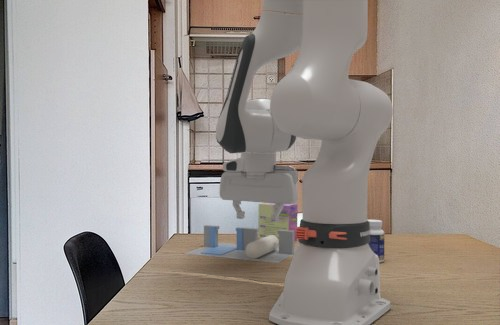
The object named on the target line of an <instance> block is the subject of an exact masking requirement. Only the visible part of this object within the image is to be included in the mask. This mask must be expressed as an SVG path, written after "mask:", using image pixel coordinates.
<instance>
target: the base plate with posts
mask: <svg viewBox="0 0 500 325" xmlns="http://www.w3.org/2000/svg"><path fill="white" fill-rule="evenodd" d="M219 229H220V225H212V224H205V225H203V246H201V247H198V248H195V249H192V250H189V251H186V252H183V255H192V256H193V255H194V256H204V257H215V258H223V259H234V260H242V261H243V260H245V261H254V262H264V263H273V264H274V263H275V264H278V263H280V262H282V261H283V260H284V261H285V259H288V258H289V257H291V256H294V254H295V250H296V249H297V248H295V242H294V231H289V230H278V231H277V234H279V246H278V248H277V249H275V250H273V251H271V252H269V253H267V254H265V255H263V256H260V257H258V258H256V259H251V258H249V257H248V256H247V254H246V246H247V245H248V244H249V243H251V242H254V241H256V240H258V232H259V228H256V227H244V226H243V227H241V226H240V227H239V226H238V227H235V231H236V242H235V243H233V242H220V241H219Z"/></svg>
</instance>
